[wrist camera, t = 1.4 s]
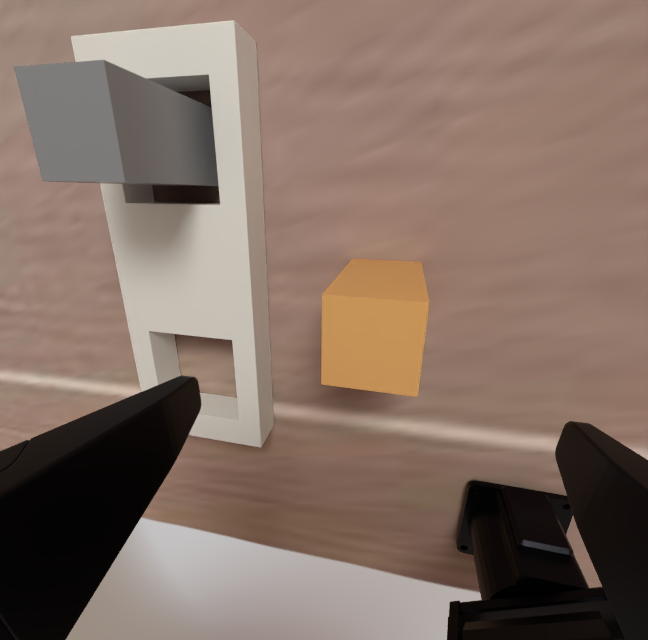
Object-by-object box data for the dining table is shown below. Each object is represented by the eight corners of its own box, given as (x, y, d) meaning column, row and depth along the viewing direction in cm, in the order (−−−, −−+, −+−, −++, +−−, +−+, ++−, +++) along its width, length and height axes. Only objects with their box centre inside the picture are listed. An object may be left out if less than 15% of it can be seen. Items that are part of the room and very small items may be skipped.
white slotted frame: (273, 425, 26) (261, 447, 24) (169, 409, 28) (148, 428, 26) (256, 42, 18) (234, 20, 16) (109, 54, 20) (70, 36, 17)
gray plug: (224, 186, 21) (125, 181, 14) (165, 185, 22) (42, 181, 14) (217, 110, 19) (103, 59, 12) (156, 112, 20) (14, 66, 13)
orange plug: (414, 326, 21) (417, 396, 14) (349, 321, 22) (321, 384, 15) (421, 262, 20) (429, 302, 12) (352, 258, 21) (322, 294, 13)
